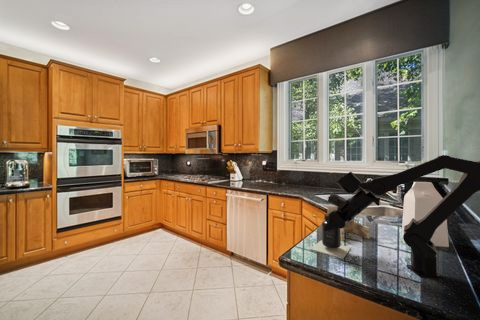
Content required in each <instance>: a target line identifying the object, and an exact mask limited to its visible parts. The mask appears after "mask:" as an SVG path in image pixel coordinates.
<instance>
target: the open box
mask: <svg viewBox="0 0 480 320" xmlns="http://www.w3.org/2000/svg"><path fill="white" fill-rule="evenodd" d="M326 208H327V209H326V210H327V211H326V212H327V213H326V214H330V213H331V212H332V211H334V210H337V208H338V206H336V205H333V206H328V205H327V207H326ZM345 233H354V234H356V235H358V236H360V237H362V238H364V239H370V227H369V226H367V225H365V224H362V223H358V222H355V217H354V218H353V219H352V220H350V221H349V222H348V224H347V225H346V226H345V227H343V228H342V229H341V228H340V234H341V241H345Z"/></svg>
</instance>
